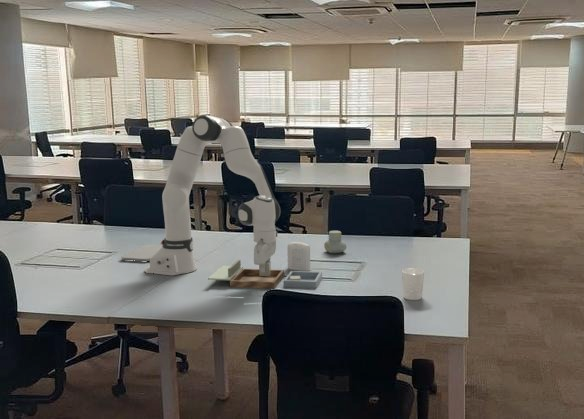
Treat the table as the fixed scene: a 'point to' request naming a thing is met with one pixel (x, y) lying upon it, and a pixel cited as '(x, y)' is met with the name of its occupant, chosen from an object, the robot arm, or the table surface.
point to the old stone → (295, 278)
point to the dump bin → (303, 279)
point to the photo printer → (298, 256)
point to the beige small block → (268, 269)
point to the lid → (226, 272)
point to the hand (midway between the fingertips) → (265, 270)
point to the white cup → (412, 283)
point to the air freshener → (335, 243)
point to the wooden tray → (256, 279)
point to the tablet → (142, 253)
